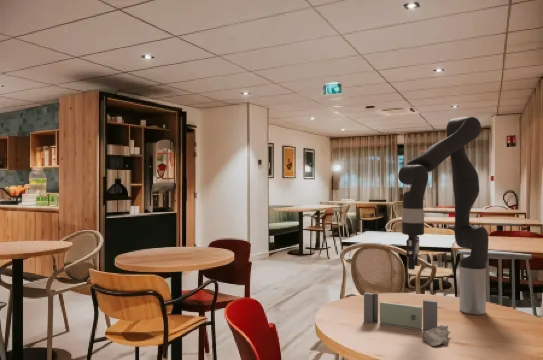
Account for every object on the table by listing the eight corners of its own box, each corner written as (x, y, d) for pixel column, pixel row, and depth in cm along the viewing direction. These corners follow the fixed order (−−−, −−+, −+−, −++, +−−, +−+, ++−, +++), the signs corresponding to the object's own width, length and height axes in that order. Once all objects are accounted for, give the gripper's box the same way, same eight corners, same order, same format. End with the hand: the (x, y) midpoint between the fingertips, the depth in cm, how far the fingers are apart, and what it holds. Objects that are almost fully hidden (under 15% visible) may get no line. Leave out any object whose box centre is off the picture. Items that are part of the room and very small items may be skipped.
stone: (462, 342, 133) (462, 329, 133) (435, 348, 127) (435, 334, 127) (445, 336, 139) (445, 323, 139) (418, 341, 133) (418, 328, 133)
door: (380, 321, 150) (380, 301, 150) (421, 327, 144) (421, 306, 144) (379, 323, 148) (379, 303, 148) (421, 329, 142) (421, 308, 142)
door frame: (365, 319, 154) (365, 291, 154) (437, 329, 143) (437, 300, 143) (363, 321, 151) (363, 293, 151) (436, 332, 140) (436, 302, 140)
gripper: (421, 223, 142) (421, 272, 142) (426, 219, 155) (426, 264, 155) (398, 222, 146) (398, 270, 145) (405, 219, 158) (405, 262, 158)
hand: (412, 267), depth 150 cm, fingers open, 7 cm apart
